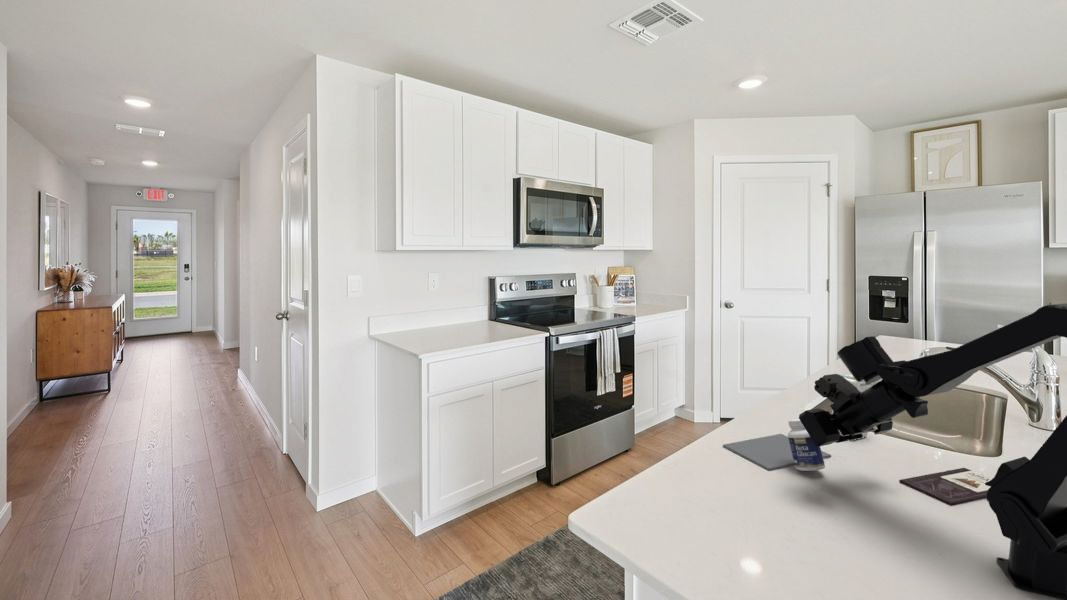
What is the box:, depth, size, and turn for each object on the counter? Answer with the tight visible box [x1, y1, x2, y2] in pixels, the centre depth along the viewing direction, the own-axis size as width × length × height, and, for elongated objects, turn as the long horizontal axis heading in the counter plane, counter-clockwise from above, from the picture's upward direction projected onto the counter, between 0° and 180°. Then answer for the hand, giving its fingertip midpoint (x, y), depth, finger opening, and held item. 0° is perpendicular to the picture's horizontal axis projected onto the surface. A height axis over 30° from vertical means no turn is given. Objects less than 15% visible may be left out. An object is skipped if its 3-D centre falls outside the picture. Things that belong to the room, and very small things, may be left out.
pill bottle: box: [787, 418, 826, 472], centre depth 97 cm, size 5×5×10 cm
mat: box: [722, 433, 832, 472], centre depth 107 cm, size 13×18×1 cm
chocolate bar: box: [899, 467, 994, 507], centre depth 91 cm, size 9×1×18 cm
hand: (815, 439), depth 95 cm, fingers closed
